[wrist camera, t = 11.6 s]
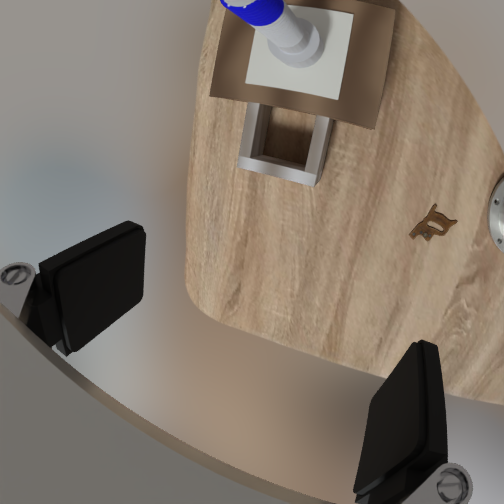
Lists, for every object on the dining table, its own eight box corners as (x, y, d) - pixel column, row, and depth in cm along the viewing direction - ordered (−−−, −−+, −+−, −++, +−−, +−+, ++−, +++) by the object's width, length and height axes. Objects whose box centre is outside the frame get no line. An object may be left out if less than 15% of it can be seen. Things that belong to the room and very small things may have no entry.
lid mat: (353, 15, 23) (353, 14, 23) (338, 100, 28) (337, 99, 27) (261, 4, 26) (260, 3, 25) (246, 83, 30) (245, 83, 30)
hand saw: (351, 330, 48) (351, 333, 47) (330, 314, 48) (329, 317, 47) (458, 221, 35) (459, 223, 35) (436, 200, 36) (437, 201, 35)
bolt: (280, 72, 28) (273, 31, 26) (328, 65, 26) (319, 23, 25) (208, 33, 15) (199, -28, 13) (291, 12, 13) (275, -51, 11)
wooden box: (390, 33, 29) (395, 9, 21) (357, 191, 39) (354, 207, 31) (256, 12, 34) (230, -10, 26) (230, 158, 44) (199, 166, 36)
